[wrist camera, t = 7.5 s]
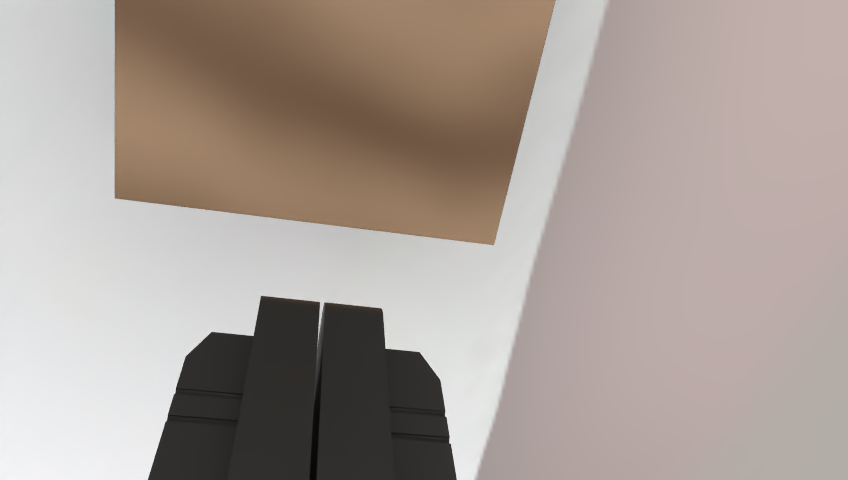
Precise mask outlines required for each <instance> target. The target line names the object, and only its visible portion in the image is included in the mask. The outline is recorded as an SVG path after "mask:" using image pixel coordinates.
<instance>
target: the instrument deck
mask: <svg viewBox="0 0 848 480" xmlns="http://www.w3.org/2000/svg"><path fill="white" fill-rule="evenodd" d="M554 4H555V0H115V198H117V199H125V200H133V201H141V202H149V203H157V204H165V205H174V206H182V207H190V208H198V209H206V210H214V211H222V212H230V213H238V214H246V215H255V216H263V217H271V218H279V219H287V220H295V221H303V222H311V223H319V224H327V225H335V226H344V227H352V228H360V229H368V230H376V231H384V232H392V233H400V234H408V235H416V236H425V237H433V238H441V239H449V240H457V241H465V242H473V243H481V244H489V245H494V242H495V238H496V234H497V230H498V226H499V222H500V218H501V214H502V210H503V206H504V202H505V199H506V195H507V191H508V187H509V183H510V179H511V175H512V171H513V167H514V163H515V159H516V155H517V151H518V147H519V143H520V139H521V135H522V131H523V127H524V123H525V119H526V115H527V111H528V107H529V103H530V99H531V95H532V92H533V88H534V84H535V80H536V76H537V72H538V68H539V64H540V60H541V56H542V52H543V48H544V44H545V40H546V36H547V32H548V28H549V24H550V20H551V16H552V12H553V8H554Z"/></svg>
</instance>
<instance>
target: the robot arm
mask: <svg viewBox="0 0 848 480" xmlns="http://www.w3.org/2000/svg"><path fill="white" fill-rule="evenodd" d="M319 309H320V302H313V301H304V300H295V299H285V298H276V297H267V296H261V300H260V305H259V310H258V316H257V321H256V327H255V332H254V336H247V335H237V334H227V333H216V332H211V333H210V334H209V335H208V336H207V337H206V338H205V339H204V340H203V341H202V342H201V343H200V344H199V345H198V346H197V347H195V348H194V349H193V350H192V351H191V352H190V353H189V354H188V355H187V356H186V358H185V361H184V364H183V367H182V371H181V374H180V377H179V380H178V384H177V387H176V393H175V394H174V397H173V400H172V403H171V406H170V410H169V413H168V419H167V421H166V423H165V426H164V429H163V432H162V436H161V439H160V442H159V446H158V449H157V452H156V455H155V459H154V462H153V465H152V468H151V472H150V475H149V478H148V480H457V479H456V473H455V467H454V461H453V455H452V449H451V444H449V430H448V424H447V418H446V417H445V406H444V400H443V394H442V388H441V382H440V379H439V378H438V376H437V375H436V374H435V372H434V371H433V370H432V368H431V367H430V366H429V364H428V363H427V362H426V360H425V359H424V358H423V356H422V355H421V354H420V352H412V351H402V350H392V349H385V337H384V322H383V311H382V309H381V308H372V307H362V306H353V305H344V304H334V303H324V307H323V312H322V319H321V325H320V332H319V339H318V326H319ZM317 342H318V346H317Z"/></svg>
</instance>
